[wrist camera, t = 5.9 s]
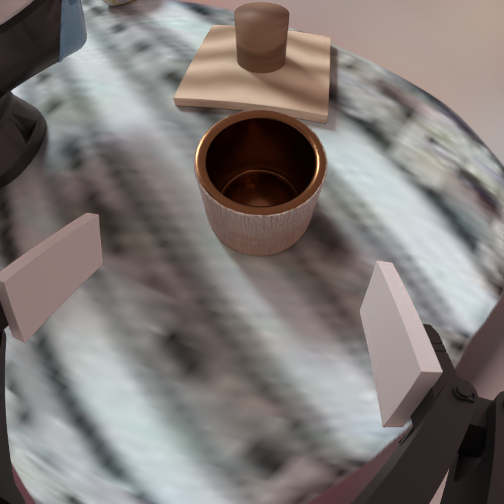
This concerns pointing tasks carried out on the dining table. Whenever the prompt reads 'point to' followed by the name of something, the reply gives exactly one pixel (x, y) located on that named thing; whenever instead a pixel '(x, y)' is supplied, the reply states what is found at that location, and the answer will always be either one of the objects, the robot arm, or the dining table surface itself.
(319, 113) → the square base plate
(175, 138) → the dining table surface
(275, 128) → the planter
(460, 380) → the robot arm
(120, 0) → the decorative egg
